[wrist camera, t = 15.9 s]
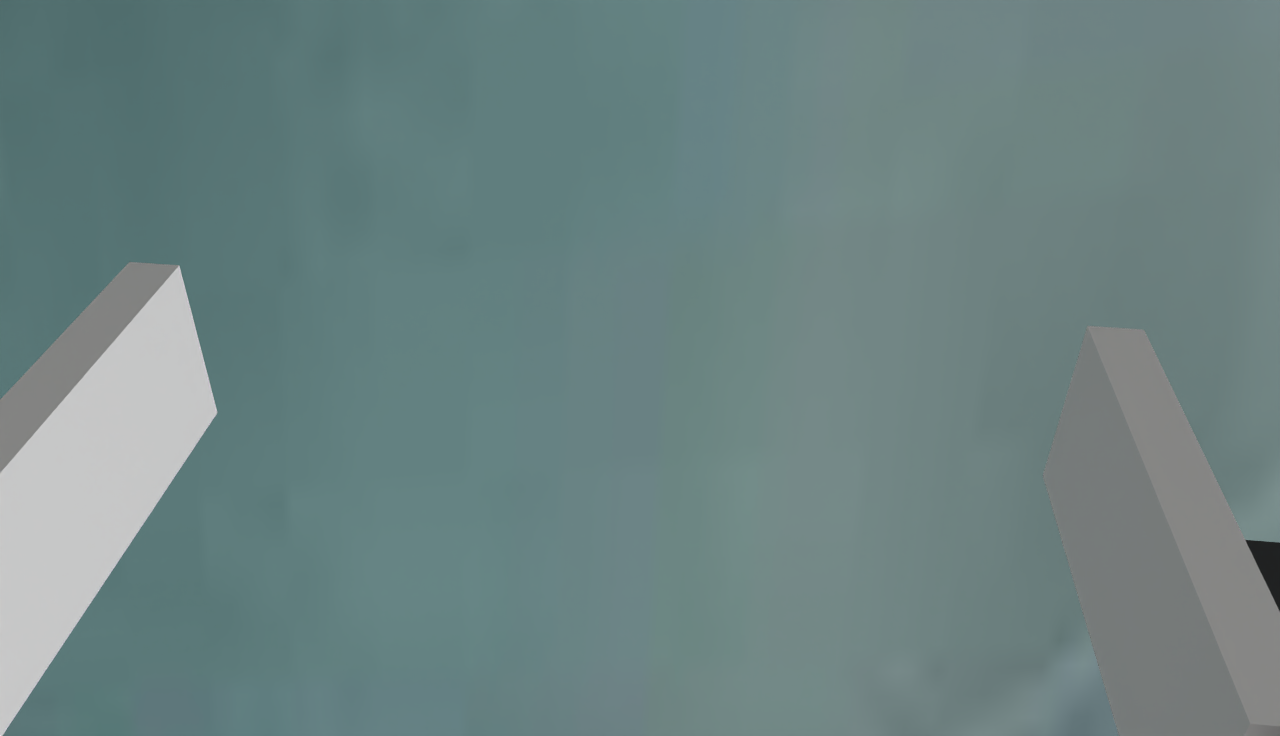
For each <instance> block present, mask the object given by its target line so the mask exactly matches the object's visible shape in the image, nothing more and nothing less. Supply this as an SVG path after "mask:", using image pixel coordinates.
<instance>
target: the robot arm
mask: <svg viewBox="0 0 1280 736" xmlns="http://www.w3.org/2000/svg"><path fill="white" fill-rule="evenodd" d="M216 414H217V410H216V406H215V402H214V398H213V394H212V390H211V386H210V382H209V379H208V375H207V371H206V367H205V363H204V359H203V355H202V352H201V348H200V344H199V340H198V336H197V332H196V328H195V325H194V321H193V317H192V313H191V309H190V305H189V301H188V297H187V294H186V290H185V286H184V282H183V278H182V274H181V270H180V267H179V265H165V264H150V263H135V262H129V263H128V264H127V265H126V266H125V267H124V268H123V270H122V271H121V272H120V273H119V274H118V275H117V276H116V277H115V278H114V279H113V280H112V281H111V282H110V283H109V284H108V286H107V287H106V288H105V289H104V290H103V291H102V292H101V293H100V294H99V295H98V296H97V297H96V298H95V299H94V300H93V302H92V303H91V304H90V305H89V306H88V307H87V308H86V309H85V310H84V311H83V312H82V313H81V314H80V315H79V316H78V318H77V319H76V320H75V321H74V322H73V323H72V324H71V325H70V326H69V327H68V328H67V329H66V330H65V331H64V332H63V334H62V335H61V336H60V337H59V338H58V339H57V340H56V341H55V342H54V343H53V344H52V345H51V346H50V347H49V348H48V349H47V351H46V352H45V353H44V354H43V355H42V356H41V357H40V358H39V359H38V360H37V361H36V362H35V363H34V364H33V365H32V367H31V368H30V369H29V370H28V371H27V372H26V373H25V374H24V375H23V376H22V377H21V378H20V379H19V380H18V381H17V383H16V384H15V385H14V386H13V387H12V388H11V389H10V390H9V391H8V392H7V393H6V394H5V395H4V396H3V397H2V399H1V400H0V736H2V735H3V734H4V732H5V731H6V729H7V728H8V726H9V725H10V723H11V722H12V720H13V719H14V717H15V716H16V714H17V713H18V711H19V710H20V708H21V707H22V705H23V704H24V702H25V701H26V699H27V698H28V696H29V695H30V693H31V692H32V690H33V689H34V687H35V686H36V684H37V683H38V681H39V680H40V678H41V677H42V675H43V674H44V672H45V671H46V669H47V668H48V666H49V665H50V663H51V662H52V660H53V659H54V657H55V656H56V654H57V653H58V651H59V650H60V648H61V647H62V645H63V644H64V642H65V641H66V639H67V638H68V636H69V635H70V633H71V632H72V630H73V629H74V627H75V626H76V624H77V623H78V621H79V620H80V618H81V617H82V615H83V614H84V612H85V611H86V609H87V608H88V606H89V605H90V603H91V602H92V600H93V599H94V597H95V596H96V594H97V593H98V591H99V590H100V588H101V587H102V585H103V584H104V582H105V581H106V579H107V578H108V576H109V575H110V573H111V572H112V570H113V569H114V567H115V566H116V564H117V563H118V561H119V560H120V558H121V556H122V555H123V553H124V552H125V550H126V549H127V547H128V546H129V544H130V543H131V541H132V540H133V538H134V537H135V535H136V534H137V532H138V531H139V529H140V528H141V526H142V525H143V523H144V522H145V520H146V519H147V517H148V516H149V514H150V513H151V511H152V510H153V508H154V507H155V505H156V504H157V502H158V501H159V499H160V498H161V496H162V495H163V493H164V492H165V490H166V489H167V487H168V486H169V484H170V483H171V481H172V480H173V478H174V477H175V475H176V474H177V472H178V471H179V469H180V468H181V466H182V465H183V463H184V462H185V460H186V459H187V457H188V456H189V454H190V453H191V451H192V450H193V448H194V447H195V445H196V444H197V442H198V441H199V439H200V438H201V436H202V435H203V433H204V432H205V430H206V429H207V427H208V426H209V424H210V423H211V421H212V420H213V418H214V417H215V415H216ZM1043 478H1044V481H1045V485H1046V488H1047V492H1048V495H1049V498H1050V502H1051V505H1052V509H1053V512H1054V516H1055V519H1056V522H1057V526H1058V529H1059V533H1060V536H1061V539H1062V543H1063V546H1064V550H1065V553H1066V557H1067V560H1068V563H1069V567H1070V570H1071V574H1072V577H1073V580H1074V584H1075V587H1076V591H1077V594H1078V598H1079V601H1080V604H1081V608H1082V611H1083V615H1084V618H1085V621H1086V625H1087V628H1088V632H1089V635H1090V639H1091V642H1092V645H1093V649H1094V652H1095V656H1096V659H1097V662H1098V666H1099V669H1100V673H1101V676H1102V680H1103V683H1104V686H1105V690H1106V693H1107V697H1108V700H1109V703H1110V707H1111V710H1112V714H1113V717H1114V720H1115V724H1116V727H1117V731H1118V734H1119V736H1280V543H1276V542H1264V541H1251V540H1245V539H1244V537H1243V534H1242V532H1241V530H1240V528H1239V526H1238V524H1237V522H1236V520H1235V518H1234V516H1233V514H1232V512H1231V510H1230V507H1229V505H1228V503H1227V501H1226V499H1225V497H1224V495H1223V493H1222V491H1221V489H1220V487H1219V485H1218V483H1217V481H1216V478H1215V476H1214V474H1213V472H1212V470H1211V468H1210V466H1209V464H1208V462H1207V460H1206V458H1205V456H1204V454H1203V451H1202V449H1201V447H1200V445H1199V443H1198V441H1197V439H1196V437H1195V435H1194V433H1193V431H1192V429H1191V427H1190V425H1189V422H1188V420H1187V418H1186V416H1185V414H1184V412H1183V410H1182V408H1181V406H1180V404H1179V402H1178V400H1177V398H1176V395H1175V393H1174V391H1173V389H1172V387H1171V385H1170V383H1169V381H1168V379H1167V377H1166V375H1165V373H1164V371H1163V369H1162V366H1161V364H1160V362H1159V360H1158V358H1157V356H1156V354H1155V352H1154V350H1153V348H1152V346H1151V344H1150V342H1149V339H1148V337H1147V335H1146V333H1145V331H1144V330H1140V329H1125V328H1110V327H1095V326H1087V329H1086V332H1085V336H1084V339H1083V343H1082V346H1081V349H1080V353H1079V356H1078V359H1077V363H1076V366H1075V369H1074V373H1073V376H1072V379H1071V383H1070V386H1069V390H1068V393H1067V396H1066V400H1065V403H1064V406H1063V410H1062V413H1061V416H1060V420H1059V423H1058V426H1057V430H1056V433H1055V437H1054V440H1053V443H1052V447H1051V450H1050V453H1049V457H1048V460H1047V463H1046V467H1045V470H1044V473H1043Z"/></svg>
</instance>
